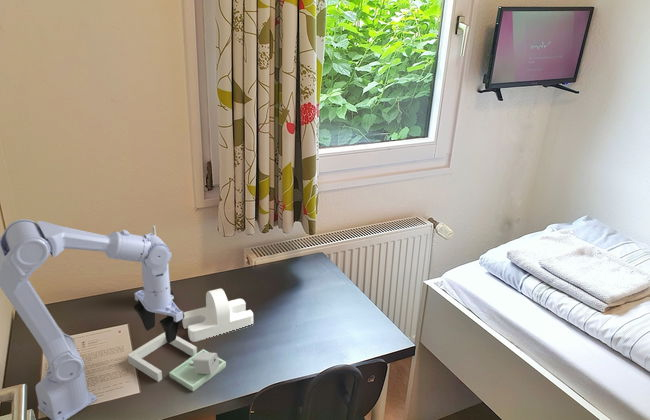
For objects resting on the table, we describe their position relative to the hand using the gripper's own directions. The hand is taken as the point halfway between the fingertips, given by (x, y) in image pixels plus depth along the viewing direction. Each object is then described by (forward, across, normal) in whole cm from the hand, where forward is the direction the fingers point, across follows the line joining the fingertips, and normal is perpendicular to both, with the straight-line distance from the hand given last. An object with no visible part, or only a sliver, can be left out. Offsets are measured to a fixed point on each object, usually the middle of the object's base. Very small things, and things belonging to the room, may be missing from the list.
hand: (160, 334), depth 124 cm
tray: (+10, -8, -4) cm, 13 cm away
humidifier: (+10, +23, -18) cm, 31 cm away
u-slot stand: (+10, +2, -21) cm, 24 cm away
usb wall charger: (+9, -9, -4) cm, 14 cm away
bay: (+10, +2, -2) cm, 10 cm away
